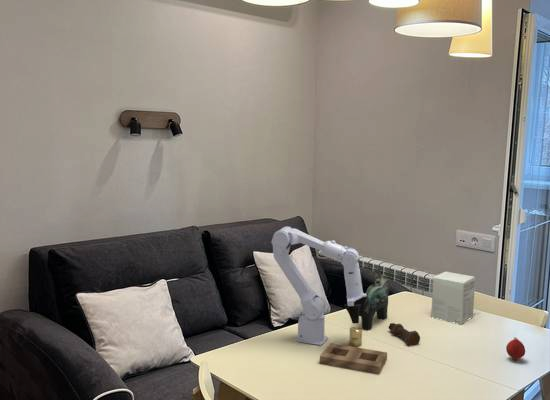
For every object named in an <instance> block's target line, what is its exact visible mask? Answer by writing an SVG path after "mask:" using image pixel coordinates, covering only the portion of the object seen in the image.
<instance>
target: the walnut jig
mask: <svg viewBox="0 0 550 400" xmlns="http://www.w3.org/2000/svg"><path fill="white" fill-rule="evenodd" d="M387 361H388V352H386V351H380V350H374V349H367V348H361V347H351V346H350V345H344V344H338V343H332V342H330V343H329V345H327V347H326V348H325V349H324V350H323V352H322V353H321V354H320V355H319V364H320V365H321V364H322V365H328V366H332V367H338V368H342V369H343V368H344V369H348V370H354V371H355V370H356V371H360V372H366V373H370V374H378V375H380V374H381V372H382V370H383V368H384V366H385V364H386V363H387Z"/></svg>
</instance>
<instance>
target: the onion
mask: <svg viewBox="0 0 550 400" xmlns="http://www.w3.org/2000/svg"><path fill="white" fill-rule="evenodd" d="M505 349H506V353H507V355H508V356H509V357H510V358H511V359H512V360H513V359H514V360H513V361H517V360H520V359H522V358H524V356H525V354H526V348H525V345H524V343H523V342H522V341H521V340H519V339H518V338H517V337H516V336H515V337H513V339H512V340H510V341H509V342H508V343H507V345H506V346H505Z"/></svg>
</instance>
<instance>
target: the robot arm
mask: <svg viewBox="0 0 550 400" xmlns="http://www.w3.org/2000/svg"><path fill="white" fill-rule="evenodd" d="M271 244H272V255H273V258H274V260H275V262H276V263H277V264H278V267H279V268H280V269H281V271H282V273H283V274H284V275H285V277H286V279H287V280H288V282H289V284H291V287H292V288H293V289H294V290H295V293H296V294H297V295H298V297H299V299H300V305H301V307H302V309H303V313H304V314H301V315H300V316H299V318H298V323H297V340H296V341H297V342H300V343H303V344H311V345H317V346H323V344H324V343H325V342H326V341H327V340H328V338H329V337H328V336H326V335H325V322H326V321H325V317H326V316H325V314H324V312H323V311H324V310H325V308H326V301H325V299H324V298H323V297H321V296H320V295H319V294H318V293H317V292H316V291H315V290H313V289H312V287H311V286H310V285H309V284H308V282H307V280H306V278H305V277H304V276H303V274H302V273H301V271H300V270H299V267H297V265H296V264H295V262H294V260H293V259H292V258H291V256H290V254H289V253H290V249H291V246H293V245H297V244H302V245H306V246H308V247H310V248H314V249H316V250H318V251H320V252H321V254H322V256H323V257H324V256H325V257H327V258H329V259H331V260H332V261H333V260H334V261H336V262H338V263H341V265H342V266H343V275H344V281H345V288H346V299H347V300H346V302H347V303H345V304H344V306H343V307H344V309H345V310H346V311H347V313H348V315H349V317H350V319H351V323H352V324H359V322H360V317H361V316H364V309H365V302H366V298H367V295H366V294H365V293H364V290H363V283H362V276H361V270H360V265H359V258H360V254H359V252H358V250H356V249H355V248H353V247H348V246H347V245H345V246H344V245H341V244H338V243H336V240H334V239H333V240H326V241H323V240H321V239H318V238H316V237H314V236H312V235H309V234H307V233H305V232H303V231H301V230H299V229H298V228H292V227H291V226H288V225H287V226H283V227H281V229H279V230H276V231H274V233H273V236H272V239H271Z"/></svg>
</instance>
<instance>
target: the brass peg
mask: <svg viewBox="0 0 550 400" xmlns="http://www.w3.org/2000/svg"><path fill="white" fill-rule="evenodd" d="M348 339H349V341H348V342H349V345H348V346H351V347H357V348H361V347H362V343H363V340H362V339H363V329H362V327H359V326H351V327H349V338H348Z"/></svg>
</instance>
